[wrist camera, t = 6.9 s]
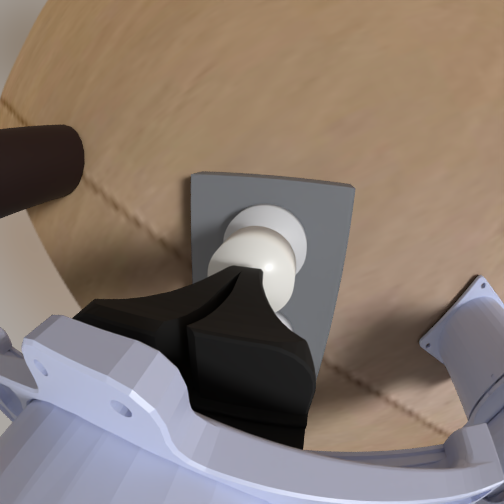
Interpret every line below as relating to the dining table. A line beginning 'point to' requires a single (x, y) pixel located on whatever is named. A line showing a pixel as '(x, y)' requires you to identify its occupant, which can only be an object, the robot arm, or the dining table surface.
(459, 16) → the dining table surface
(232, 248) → the knob
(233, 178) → the knob panel
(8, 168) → the bottle
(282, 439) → the robot arm
